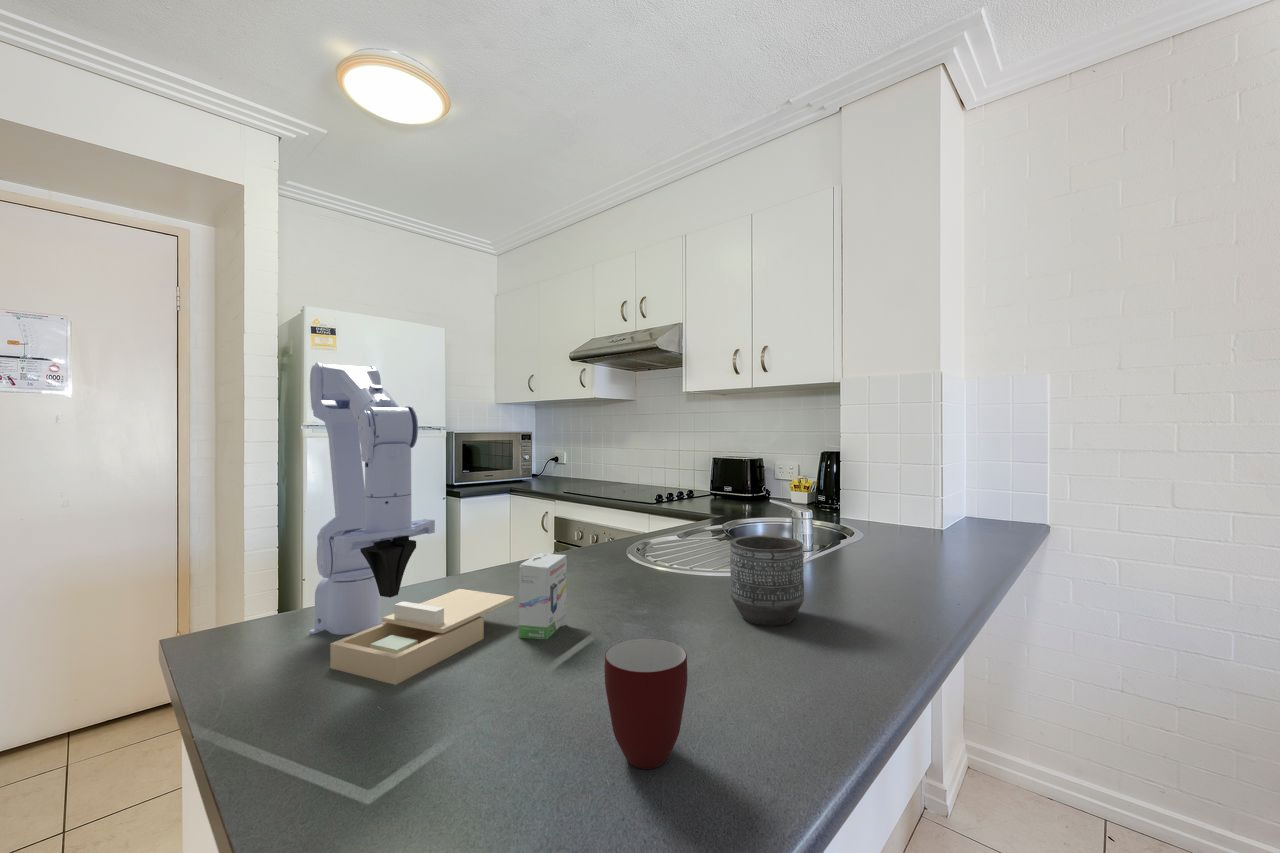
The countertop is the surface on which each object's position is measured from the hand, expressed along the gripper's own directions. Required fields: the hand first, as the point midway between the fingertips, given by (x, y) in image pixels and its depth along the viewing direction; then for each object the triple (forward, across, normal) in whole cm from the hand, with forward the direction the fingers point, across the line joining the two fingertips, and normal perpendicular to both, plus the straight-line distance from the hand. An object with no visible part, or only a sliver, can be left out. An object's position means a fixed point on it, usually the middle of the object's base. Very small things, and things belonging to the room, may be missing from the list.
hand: (389, 595), depth 72 cm
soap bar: (+9, +1, 0) cm, 9 cm away
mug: (+10, -3, -39) cm, 41 cm away
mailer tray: (+10, +4, 0) cm, 11 cm away
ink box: (+10, +19, -12) cm, 24 cm away
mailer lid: (+6, +12, 0) cm, 13 cm away
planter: (+10, +40, -43) cm, 59 cm away
